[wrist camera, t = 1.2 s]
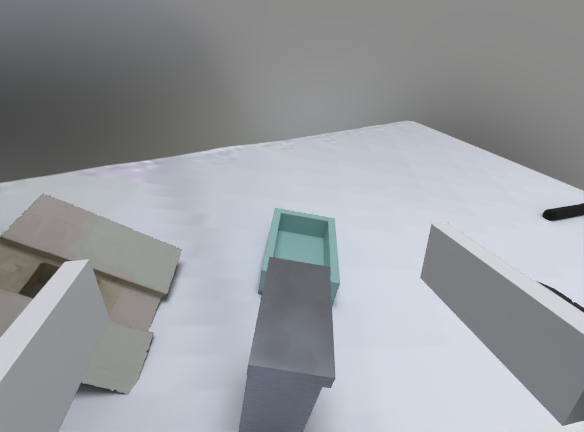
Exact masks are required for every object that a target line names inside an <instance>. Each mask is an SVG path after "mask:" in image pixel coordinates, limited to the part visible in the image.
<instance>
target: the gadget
mask: <svg viewBox="0 0 584 432" xmlns="http://www.w3.org/2000/svg"><path fill="white" fill-rule="evenodd" d="M582 214H584V203H583V204H579V205H573V206H567V207H560V208H554V209H548V210H545V211H544V213H543V217H544V218H545V219H547V220H556V219H562V218H567V217H572V216H577V215H582Z"/></svg>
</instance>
